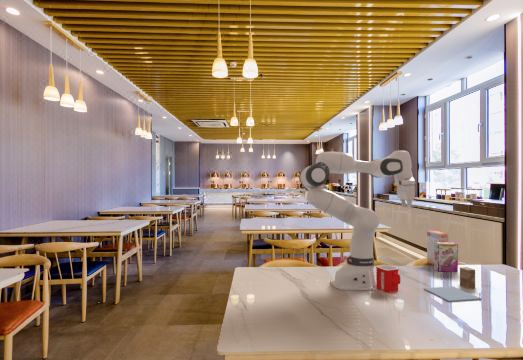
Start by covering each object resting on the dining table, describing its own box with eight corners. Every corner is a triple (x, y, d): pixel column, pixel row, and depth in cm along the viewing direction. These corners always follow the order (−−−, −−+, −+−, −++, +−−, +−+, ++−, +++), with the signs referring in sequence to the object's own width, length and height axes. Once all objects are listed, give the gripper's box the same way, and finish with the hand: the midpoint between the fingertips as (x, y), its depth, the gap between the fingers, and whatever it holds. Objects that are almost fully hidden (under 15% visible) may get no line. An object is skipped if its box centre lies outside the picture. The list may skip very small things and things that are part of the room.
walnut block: (468, 288, 150) (467, 270, 150) (459, 285, 155) (459, 267, 155) (475, 288, 151) (475, 269, 151) (467, 284, 156) (467, 267, 156)
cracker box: (448, 268, 186) (448, 233, 186) (438, 268, 186) (438, 233, 186) (436, 262, 200) (436, 230, 200) (426, 262, 200) (426, 230, 200)
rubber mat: (448, 301, 134) (448, 300, 134) (423, 289, 149) (423, 288, 149) (481, 299, 136) (481, 298, 136) (453, 287, 152) (453, 286, 152)
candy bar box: (438, 272, 178) (437, 243, 179) (434, 269, 183) (434, 241, 184) (458, 272, 177) (458, 243, 178) (454, 270, 182) (453, 242, 183)
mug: (374, 287, 152) (374, 266, 152) (387, 285, 155) (387, 264, 155) (392, 296, 141) (392, 272, 141) (406, 293, 144) (406, 270, 144)
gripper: (392, 181, 172) (395, 206, 172) (402, 182, 152) (405, 210, 152) (404, 180, 171) (407, 205, 171) (416, 180, 151) (419, 209, 150)
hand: (406, 207), depth 161 cm, fingers open, 8 cm apart
